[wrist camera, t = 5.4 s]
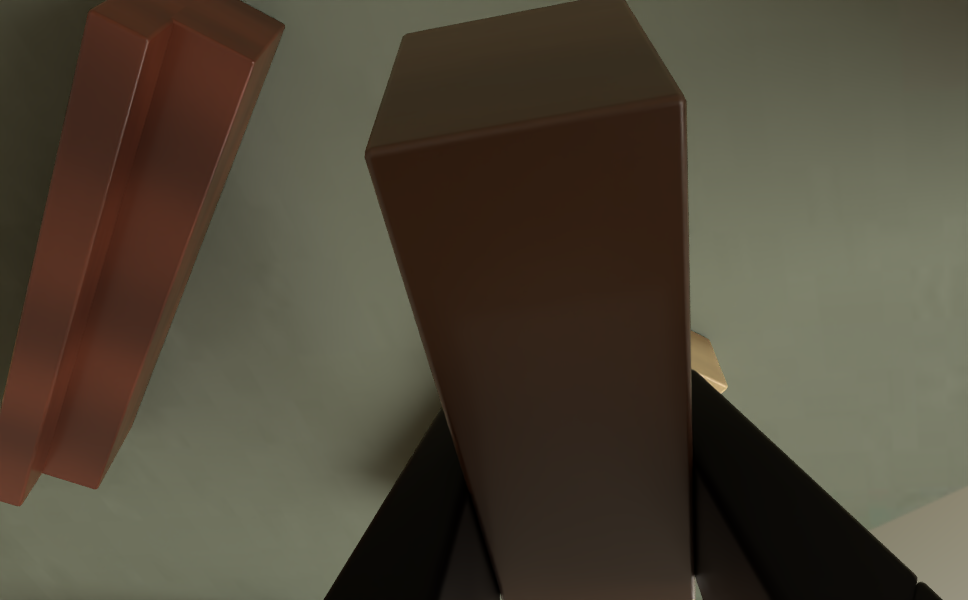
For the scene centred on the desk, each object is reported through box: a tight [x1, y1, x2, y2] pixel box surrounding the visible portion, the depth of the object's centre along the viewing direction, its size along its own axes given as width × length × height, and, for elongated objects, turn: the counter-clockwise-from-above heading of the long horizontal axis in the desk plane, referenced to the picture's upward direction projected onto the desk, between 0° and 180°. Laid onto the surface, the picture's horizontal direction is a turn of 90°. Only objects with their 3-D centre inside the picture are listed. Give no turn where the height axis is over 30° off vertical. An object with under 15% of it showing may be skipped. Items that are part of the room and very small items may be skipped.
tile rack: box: [0, 0, 285, 506], centre depth 20 cm, size 17×3×4 cm, turn 150°
